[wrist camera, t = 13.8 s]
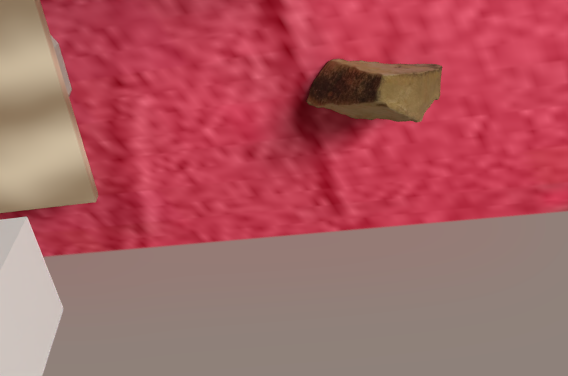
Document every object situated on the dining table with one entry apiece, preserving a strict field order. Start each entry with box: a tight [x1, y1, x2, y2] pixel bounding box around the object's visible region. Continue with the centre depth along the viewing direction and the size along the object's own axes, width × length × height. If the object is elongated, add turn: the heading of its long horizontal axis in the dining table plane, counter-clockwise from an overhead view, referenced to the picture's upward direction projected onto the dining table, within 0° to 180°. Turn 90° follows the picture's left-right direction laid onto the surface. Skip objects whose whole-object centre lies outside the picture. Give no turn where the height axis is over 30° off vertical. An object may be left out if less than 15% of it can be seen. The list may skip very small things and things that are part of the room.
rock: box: [306, 59, 442, 122], centre depth 44 cm, size 11×9×10 cm
